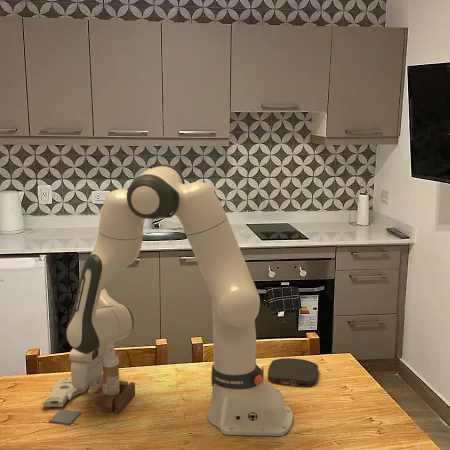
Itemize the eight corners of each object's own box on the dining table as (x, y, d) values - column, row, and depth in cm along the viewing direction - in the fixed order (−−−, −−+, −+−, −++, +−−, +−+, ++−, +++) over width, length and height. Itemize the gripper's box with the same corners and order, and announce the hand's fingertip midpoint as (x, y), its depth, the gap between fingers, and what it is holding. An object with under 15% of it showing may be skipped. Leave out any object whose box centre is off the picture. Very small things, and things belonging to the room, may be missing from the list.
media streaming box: (318, 368, 183) (319, 359, 182) (315, 390, 169) (315, 380, 168) (272, 364, 186) (273, 355, 185) (265, 384, 172) (265, 375, 171)
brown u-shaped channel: (135, 395, 165) (134, 382, 164) (119, 414, 154) (118, 400, 153) (112, 392, 166) (111, 379, 166) (94, 411, 156) (94, 397, 155)
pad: (81, 413, 155) (80, 411, 154) (70, 425, 149) (69, 423, 149) (60, 411, 156) (60, 409, 156) (48, 422, 150) (48, 420, 150)
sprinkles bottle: (104, 399, 162) (102, 354, 160) (120, 398, 163) (118, 353, 160) (103, 407, 158) (101, 361, 155) (120, 406, 159) (118, 360, 156)
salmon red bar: (118, 374, 178) (118, 365, 177) (101, 392, 166) (101, 382, 166) (112, 373, 178) (112, 364, 178) (95, 391, 167) (94, 382, 166)
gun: (76, 398, 155) (38, 398, 155) (76, 410, 156) (39, 410, 156) (92, 372, 173) (58, 372, 173) (92, 383, 174) (59, 383, 174)
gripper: (99, 329, 173) (101, 372, 176) (65, 356, 153) (68, 405, 156) (119, 331, 172) (121, 374, 174) (87, 359, 152) (89, 407, 155)
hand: (95, 389), depth 165 cm, fingers closed
